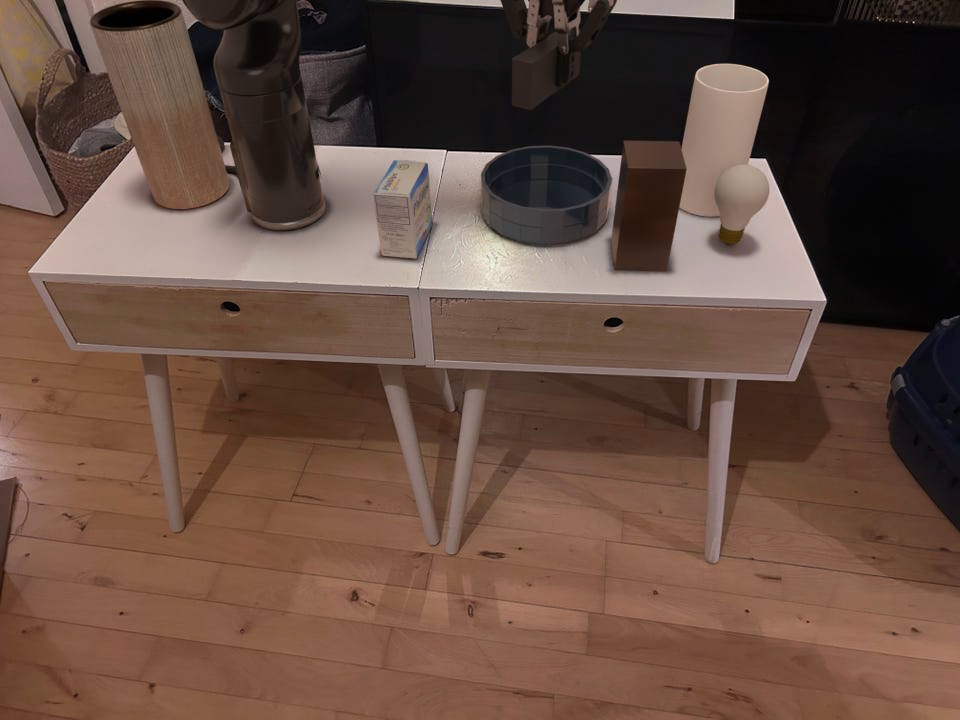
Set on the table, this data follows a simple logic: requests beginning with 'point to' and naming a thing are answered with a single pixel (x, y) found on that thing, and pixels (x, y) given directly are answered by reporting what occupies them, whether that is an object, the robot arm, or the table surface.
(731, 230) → the light bulb
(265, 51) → the robot arm
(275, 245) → the table surface
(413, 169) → the medicine box
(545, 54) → the dark brown flat block
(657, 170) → the stand
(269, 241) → the table surface
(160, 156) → the planter
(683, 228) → the table surface
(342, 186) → the table surface
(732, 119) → the cup
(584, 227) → the bowl
